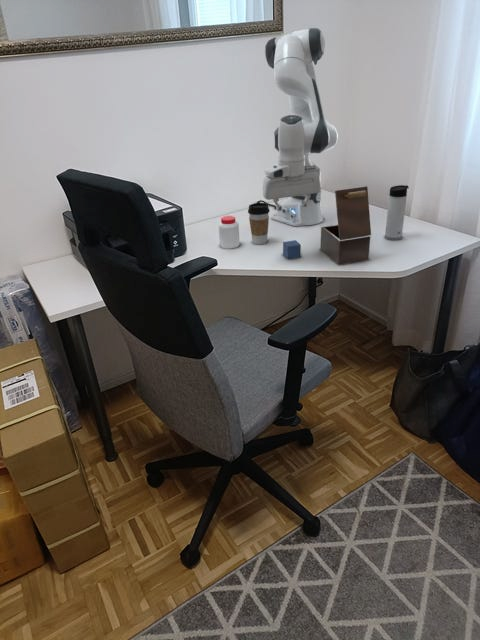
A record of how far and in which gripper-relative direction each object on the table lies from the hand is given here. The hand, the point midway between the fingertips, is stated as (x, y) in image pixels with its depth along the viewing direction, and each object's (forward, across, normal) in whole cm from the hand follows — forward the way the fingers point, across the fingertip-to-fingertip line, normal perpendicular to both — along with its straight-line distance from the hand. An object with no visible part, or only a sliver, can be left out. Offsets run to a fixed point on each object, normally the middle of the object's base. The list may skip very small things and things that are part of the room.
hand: (291, 208), depth 172 cm
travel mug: (+18, -43, -2) cm, 47 cm away
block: (+18, 0, 0) cm, 18 cm away
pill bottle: (+18, +18, -20) cm, 33 cm away
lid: (+1, -18, +11) cm, 21 cm away
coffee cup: (+18, +6, -19) cm, 27 cm away
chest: (+18, -18, +6) cm, 26 cm away
